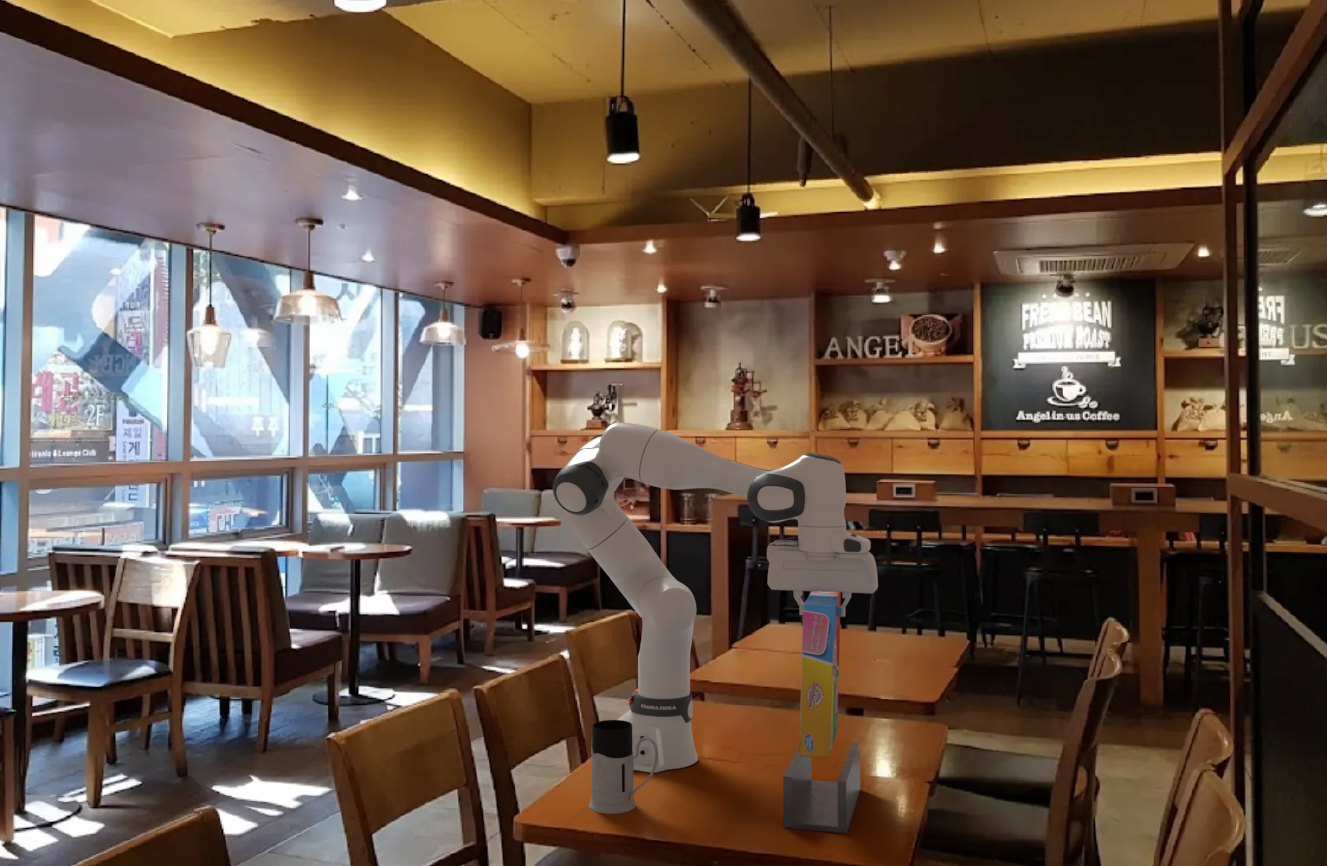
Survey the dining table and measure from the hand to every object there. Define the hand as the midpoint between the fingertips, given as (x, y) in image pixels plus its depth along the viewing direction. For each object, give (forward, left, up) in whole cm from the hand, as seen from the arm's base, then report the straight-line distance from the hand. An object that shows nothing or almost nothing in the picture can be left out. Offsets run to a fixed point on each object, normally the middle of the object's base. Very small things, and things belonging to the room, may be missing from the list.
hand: (822, 615), depth 195 cm
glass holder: (-35, -10, -36) cm, 51 cm away
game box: (-1, 0, -24) cm, 24 cm away
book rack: (0, 0, -36) cm, 36 cm away
